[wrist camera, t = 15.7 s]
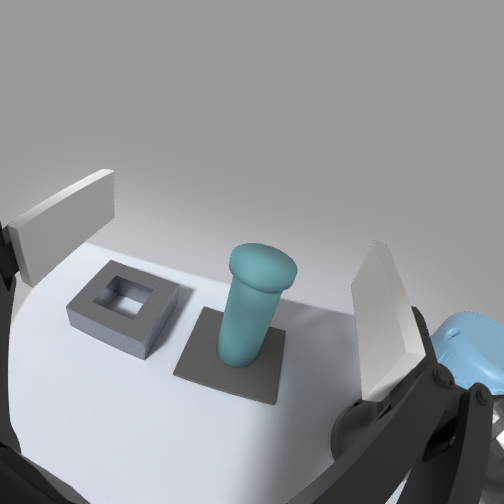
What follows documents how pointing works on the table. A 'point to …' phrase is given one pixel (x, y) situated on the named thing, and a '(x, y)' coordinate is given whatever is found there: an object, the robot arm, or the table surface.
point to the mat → (224, 376)
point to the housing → (116, 325)
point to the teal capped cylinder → (252, 300)
